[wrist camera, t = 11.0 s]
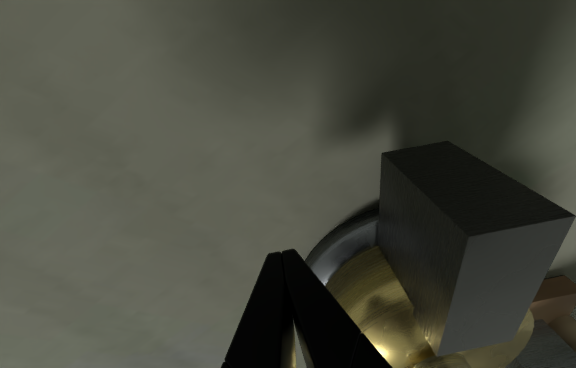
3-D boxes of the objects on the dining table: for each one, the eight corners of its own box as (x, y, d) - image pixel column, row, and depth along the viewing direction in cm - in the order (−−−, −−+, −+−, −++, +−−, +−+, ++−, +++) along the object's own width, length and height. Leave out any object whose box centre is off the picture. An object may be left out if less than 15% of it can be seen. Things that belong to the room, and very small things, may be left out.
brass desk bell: (457, 315, 18) (539, 428, 13) (306, 347, 17) (329, 476, 12) (497, 184, 13) (658, 288, 8) (283, 225, 12) (308, 362, 7)
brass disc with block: (461, 330, 16) (526, 422, 12) (322, 359, 16) (345, 463, 12) (528, 126, 10) (705, 190, 6) (297, 168, 9) (330, 263, 6)
